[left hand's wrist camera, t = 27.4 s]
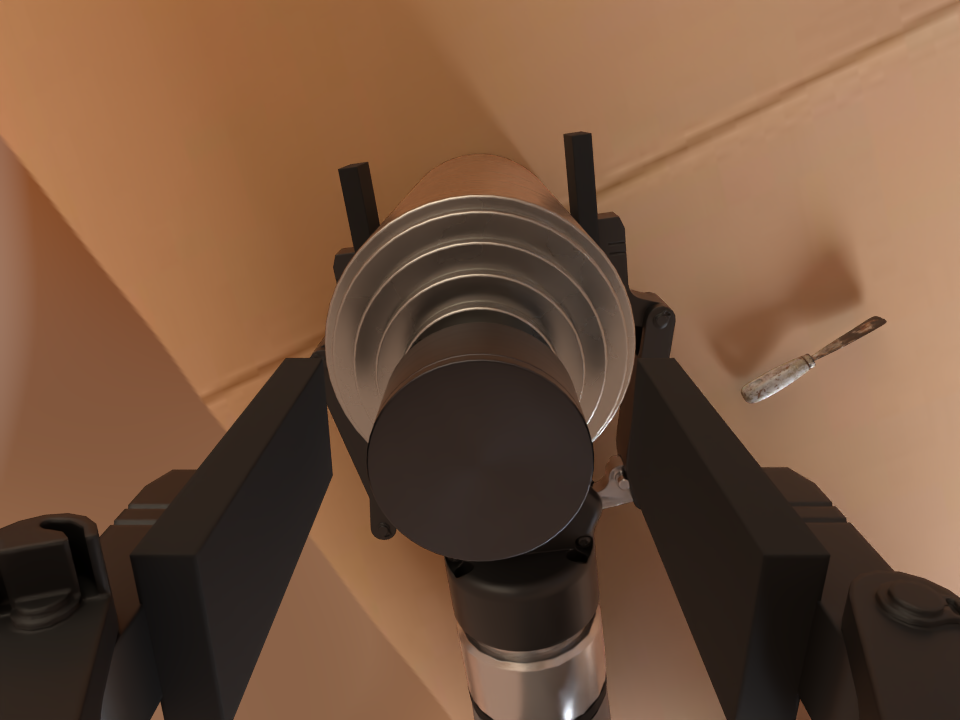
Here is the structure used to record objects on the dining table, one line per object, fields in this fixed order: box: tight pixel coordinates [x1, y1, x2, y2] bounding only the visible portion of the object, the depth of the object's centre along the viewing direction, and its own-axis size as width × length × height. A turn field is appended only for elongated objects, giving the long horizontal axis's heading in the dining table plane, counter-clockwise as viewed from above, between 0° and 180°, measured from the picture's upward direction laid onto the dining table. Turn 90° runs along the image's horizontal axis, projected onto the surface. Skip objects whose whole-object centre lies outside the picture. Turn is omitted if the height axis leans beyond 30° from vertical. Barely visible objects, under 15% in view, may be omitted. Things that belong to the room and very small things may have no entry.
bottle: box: [325, 154, 636, 443], centre depth 24 cm, size 8×8×23 cm
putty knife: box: [741, 316, 886, 403], centre depth 36 cm, size 1×8×2 cm, turn 127°
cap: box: [366, 322, 594, 561], centre depth 13 cm, size 4×4×2 cm
